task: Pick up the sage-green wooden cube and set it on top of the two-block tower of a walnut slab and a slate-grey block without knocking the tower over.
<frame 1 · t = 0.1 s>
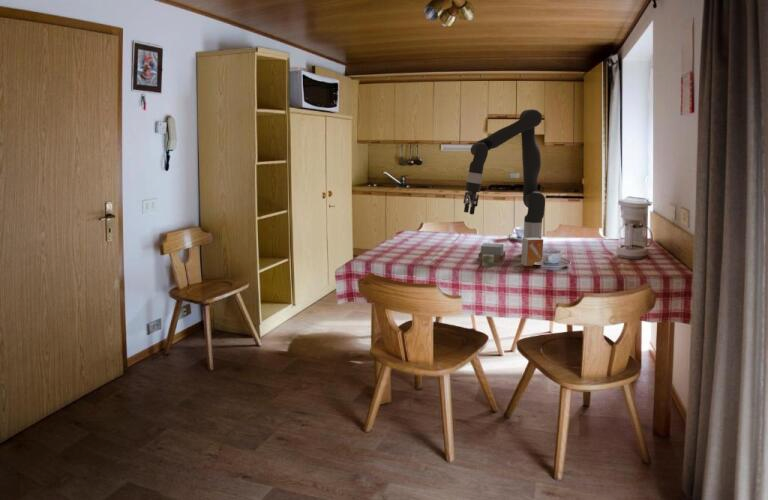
hand: (468, 213, 312), 22 cm above the table, tool pointing down, fingers open, 8 cm apart
slate top block: (492, 252, 306), point 3 cm above the table, touching walnut base block
small box: (531, 265, 294), on the table
sage cube: (487, 265, 292), on the table
walnut base block: (491, 260, 307), on the table, touching slate top block
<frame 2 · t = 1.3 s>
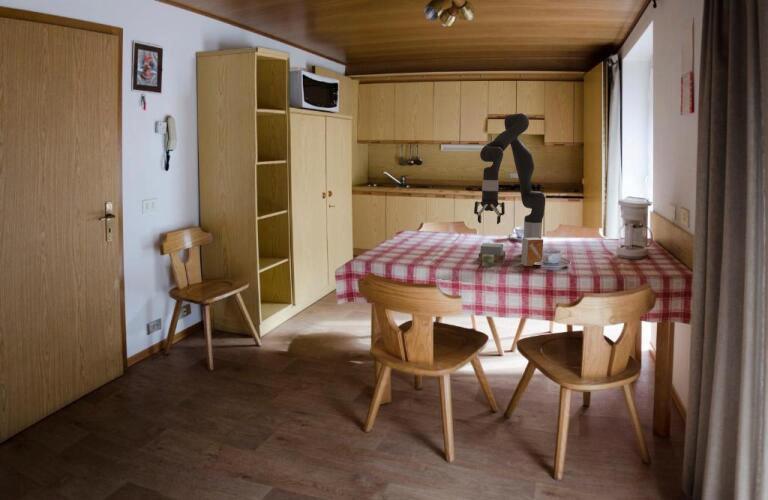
hand: (488, 223, 289), 20 cm above the table, tool pointing down, fingers open, 8 cm apart
slate top block: (491, 252, 306), point 3 cm above the table
walnut base block: (491, 260, 307), on the table
everything else where it was.
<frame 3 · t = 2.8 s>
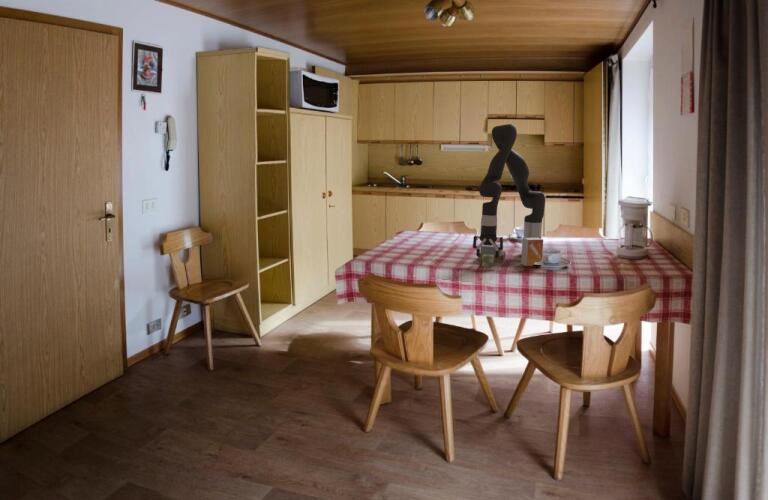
hand: (487, 257, 292), 4 cm above the table, tool pointing down, fingers open, 8 cm apart
slate top block: (491, 252, 306), point 3 cm above the table, touching walnut base block
walnut base block: (492, 260, 307), on the table, touching slate top block
everything else where it was.
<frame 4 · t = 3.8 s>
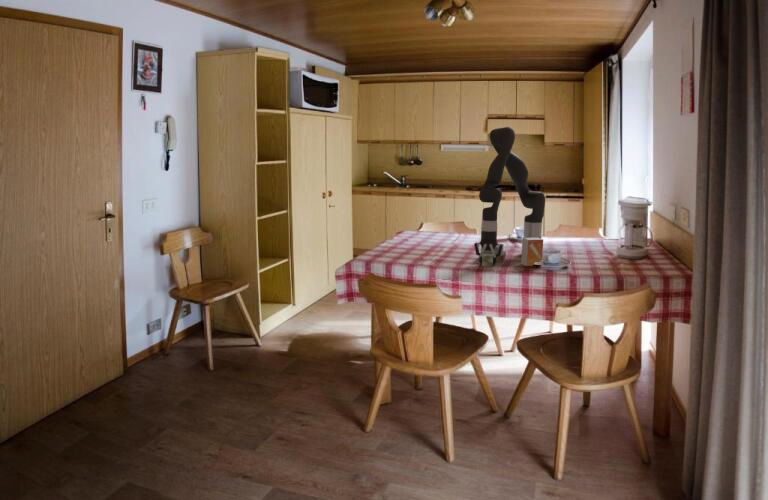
hand: (487, 264, 292), 0 cm above the table, tool pointing down, fingers closed on sage cube, 5 cm apart
slate top block: (492, 252, 306), point 4 cm above the table
sage cube: (487, 265, 292), on the table, touching gripper
walnut base block: (492, 260, 306), on the table
everything else where it was.
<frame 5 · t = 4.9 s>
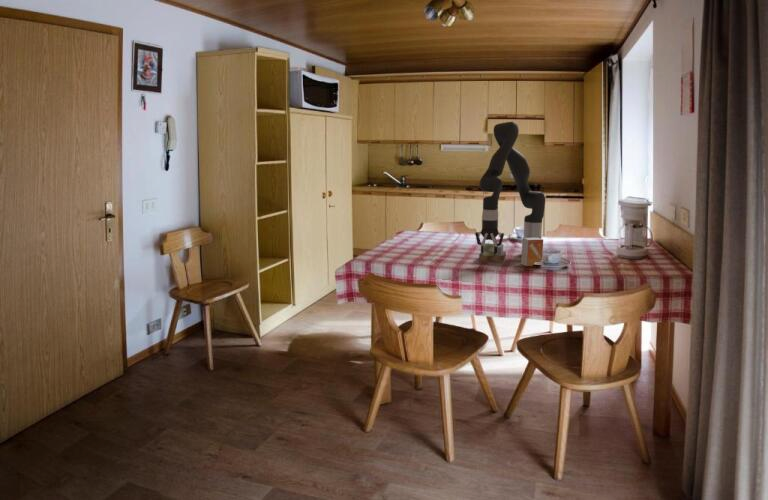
hand: (489, 253, 291), 6 cm above the table, tool pointing down, fingers closed on sage cube, 5 cm apart
slate top block: (491, 253, 306), point 3 cm above the table, touching walnut base block
sage cube: (489, 254, 292), point 5 cm above the table, touching gripper
walnut base block: (492, 260, 306), on the table, touching slate top block
everything else where it was.
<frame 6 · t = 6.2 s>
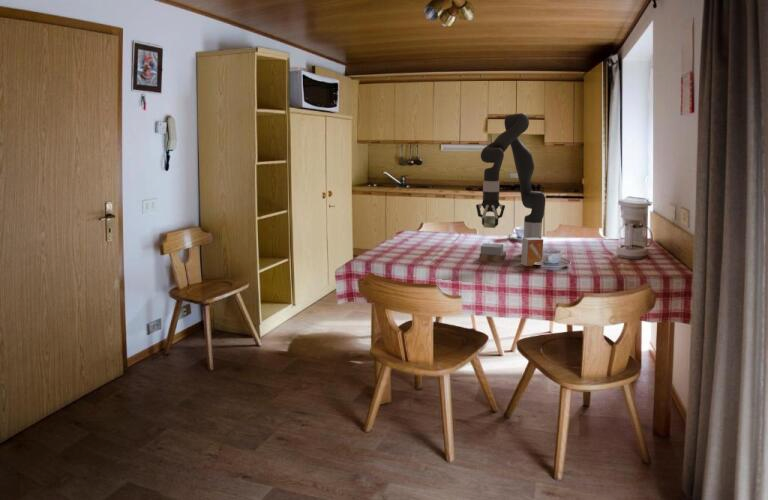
hand: (489, 225, 290), 19 cm above the table, tool pointing down, fingers closed on sage cube, 5 cm apart
slate top block: (491, 253, 306), point 3 cm above the table
sage cube: (489, 226, 290), point 19 cm above the table, touching gripper
walnut base block: (492, 260, 306), on the table
everything else where it was.
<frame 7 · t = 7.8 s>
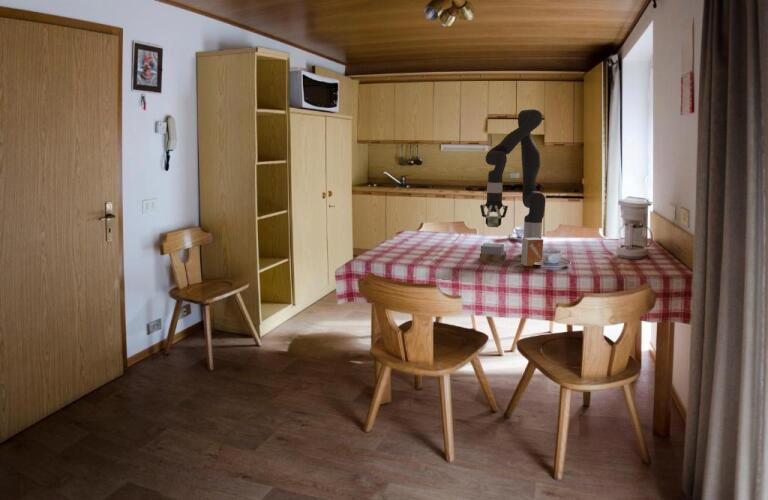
hand: (493, 225, 303), 17 cm above the table, tool pointing down, fingers closed on sage cube, 5 cm apart
slate top block: (492, 252, 306), point 4 cm above the table, touching walnut base block
sage cube: (493, 226, 303), point 17 cm above the table, touching gripper
walnut base block: (493, 260, 306), on the table, touching slate top block
everything else where it was.
when the fingers open (10 cm above the table, at t = 10.2 s): sage cube drops 2 cm, point 7 cm above the table.
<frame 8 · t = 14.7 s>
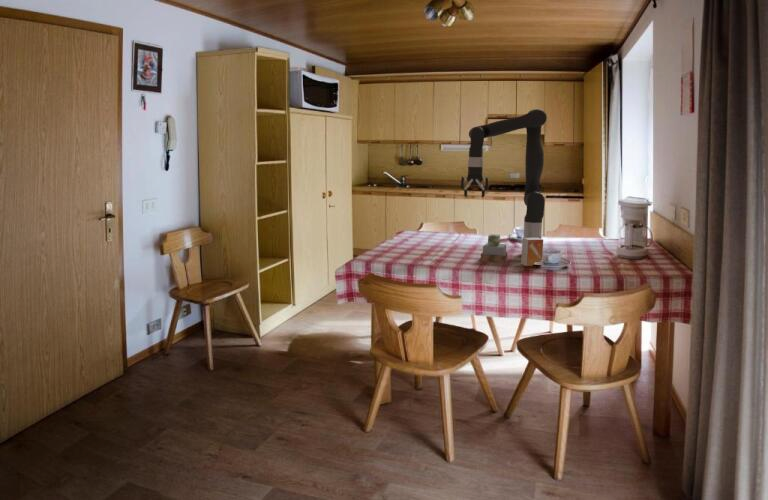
hand: (474, 197, 317), 30 cm above the table, tool pointing down, fingers open, 8 cm apart
slate top block: (494, 253, 305), point 3 cm above the table, touching walnut base block
sage cube: (493, 245, 305), point 7 cm above the table
everything else where it was.
at the end: sage cube 0.6 cm off-centre on the slate top block, point 4.1 cm above the slate top block's base; slate top block 0.2 cm off-centre on the walnut base block, point 4.0 cm above the walnut base block's base; sage cube tilted 1° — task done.
